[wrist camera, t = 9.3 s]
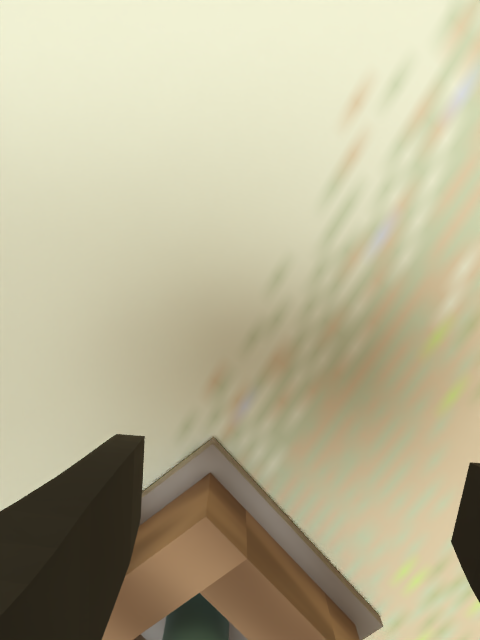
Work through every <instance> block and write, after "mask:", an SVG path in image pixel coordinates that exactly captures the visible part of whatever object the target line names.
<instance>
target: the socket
mask: <svg viewBox="0 0 480 640" xmlns="http://www.w3.org/2000/svg"><path fill="white" fill-rule="evenodd" d="M198 593H200V594H201V595H202V596H203V597H204V598H205V599H206V600H207V601H209V602H210V603H211V604H212V605H213V606H214V607H215V608H216V609H217V610H218V611H219V612H220V613H221V614H222V615H223V616H224V617H225V618H226V619H227V620H228V621H229V640H363V639H365V638H366V637H368V636H369V635H371V634H372V633H374V632H375V631H377V630H379V629H380V628H382V627H383V624H382V621H381V619H380V616H379V615H378V614H377V613H376V611H375V610H374V609H373V608H372V607H371V606H370V605H369V604H368V603H367V602H366V601H365V600H364V599H363V598H362V596H361V595H360V594H359V593H358V592H357V591H356V590H355V589H354V588H353V587H352V586H351V585H350V584H349V582H348V581H347V580H346V579H345V578H344V577H343V576H342V575H341V574H340V573H339V572H338V571H337V570H336V568H335V567H334V566H333V565H332V564H331V563H330V562H329V561H328V560H327V559H326V558H325V557H324V556H323V554H322V553H321V552H320V551H319V550H318V549H317V548H316V547H315V546H314V545H313V544H312V543H311V542H310V541H309V539H308V538H307V537H306V536H305V535H304V534H303V533H302V532H301V531H300V530H299V529H298V528H297V527H296V525H295V524H294V523H293V522H292V521H291V520H290V519H289V518H288V517H287V516H286V515H285V514H284V513H283V511H282V510H281V509H280V508H279V507H278V506H277V505H276V504H275V503H274V502H273V501H272V500H271V499H270V497H269V496H268V495H267V494H266V493H265V492H264V491H263V490H262V489H261V488H260V487H259V486H258V485H257V484H256V482H255V481H254V480H253V479H252V478H251V477H250V476H249V475H248V474H247V473H246V472H245V471H244V470H243V468H242V467H241V466H240V465H239V464H238V463H237V462H236V461H235V460H234V459H233V458H232V457H231V456H230V454H229V453H228V452H227V451H226V450H225V449H224V448H223V447H222V446H221V445H220V444H219V443H218V442H217V440H216V439H215V438H214V437H213V438H212V439H211V440H209V441H208V442H207V443H205V444H204V445H203V446H202V447H200V448H199V449H198V450H196V451H195V452H194V453H192V454H191V455H190V456H189V457H187V458H186V459H185V460H183V461H182V462H181V463H179V464H178V465H177V466H175V467H174V468H173V469H172V470H170V471H169V472H168V473H166V474H165V475H164V476H162V477H161V478H160V479H159V480H157V481H156V482H155V483H153V484H152V485H151V486H149V487H148V488H147V489H146V490H144V491H143V492H142V502H141V519H140V524H139V528H138V532H137V536H136V540H135V545H134V549H133V553H132V557H131V561H130V564H129V567H128V570H127V573H126V575H125V578H124V581H123V584H122V586H121V589H120V592H119V594H118V597H117V600H116V603H115V605H114V608H113V611H112V613H111V616H110V619H109V621H108V624H107V627H106V630H105V632H104V635H103V638H102V640H162V639H163V633H164V628H165V622H166V616H167V615H169V614H170V613H171V612H173V611H174V610H176V609H177V608H178V607H180V606H181V605H183V604H184V603H185V602H187V601H188V600H190V599H191V598H193V597H194V596H195V595H197V594H198Z"/></svg>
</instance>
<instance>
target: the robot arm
mask: <svg viewBox="0 0 480 640" xmlns="http://www.w3.org/2000/svg"><path fill="white" fill-rule="evenodd" d="M144 439H145V436H133V435H121V434H116V435H115V436H113V437H111V438H110V439H109V440H107V441H106V442H104V443H103V444H102V445H100V446H99V447H98V448H96V449H95V450H94V451H92V452H91V453H89V454H88V455H87V456H85V457H84V458H82V459H81V460H80V461H78V462H77V463H75V464H74V465H73V466H71V467H70V468H68V469H67V470H65V471H64V472H63V473H61V474H60V475H58V476H57V477H55V478H54V479H52V480H51V481H49V482H47V483H46V484H44V485H43V486H41V487H39V488H38V489H36V490H35V491H33V492H31V493H30V494H28V495H27V496H25V497H24V498H22V499H20V500H19V501H17V502H16V503H14V504H12V505H10V506H9V507H7V508H5V509H3V510H2V511H0V640H102V638H103V635H104V632H105V630H106V627H107V624H108V621H109V619H110V616H111V613H112V611H113V608H114V605H115V603H116V600H117V597H118V594H119V592H120V589H121V586H122V584H123V581H124V578H125V575H126V573H127V570H128V567H129V564H130V561H131V557H132V553H133V549H134V545H135V540H136V536H137V532H138V528H139V524H140V519H141V502H142V481H143V460H144ZM451 542H452V545H453V547H454V550H455V552H456V555H457V557H458V559H459V562H460V564H461V567H462V569H463V571H464V573H465V575H466V577H467V580H468V582H469V584H470V586H471V588H472V590H473V592H474V593H475V595H476V597H477V599H478V600H479V602H480V463H470V464H469V469H468V473H467V477H466V481H465V485H464V490H463V494H462V498H461V502H460V507H459V511H458V515H457V519H456V523H455V528H454V532H453V536H452V540H451Z"/></svg>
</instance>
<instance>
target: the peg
mask: <svg viewBox="0 0 480 640" xmlns="http://www.w3.org/2000/svg"><path fill="white" fill-rule="evenodd" d="M162 640H229V621H228V620H227V619H226V618H225V617H224V616H223V615H222V614H221V613H220V612H219V611H218V610H217V609H216V608H215V607H214V606H213V605H212V604H211V603H210V602H209V601H207V600H206V599H205V598H204V597H203V596H202V595H201V594H200V593H198V594H197V595H195V596H194V597H193V598H191V599H190V600H188V601H187V602H185V603H184V604H183V605H181V606H180V607H178V608H177V609H176V610H174V611H173V612H171V613H170V614H169V615H167V616H166V622H165V628H164V633H163V639H162Z"/></svg>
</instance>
